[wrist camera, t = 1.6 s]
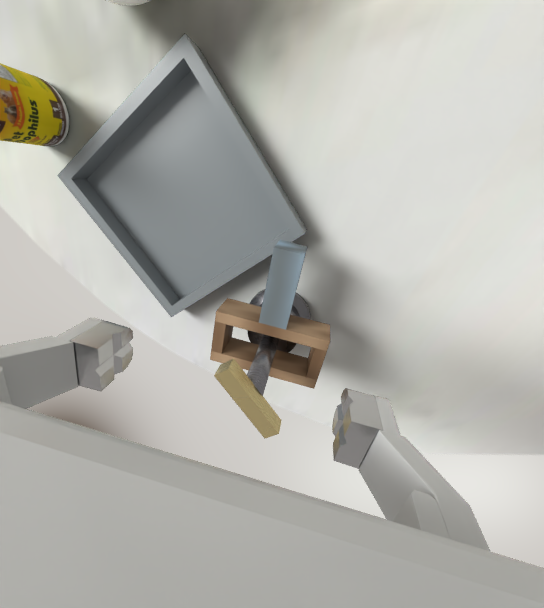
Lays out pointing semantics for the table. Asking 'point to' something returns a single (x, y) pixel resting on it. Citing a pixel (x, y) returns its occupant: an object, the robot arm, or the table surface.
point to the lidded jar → (128, 2)
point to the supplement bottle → (30, 109)
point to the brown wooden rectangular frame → (274, 323)
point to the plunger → (258, 373)
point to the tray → (182, 183)
